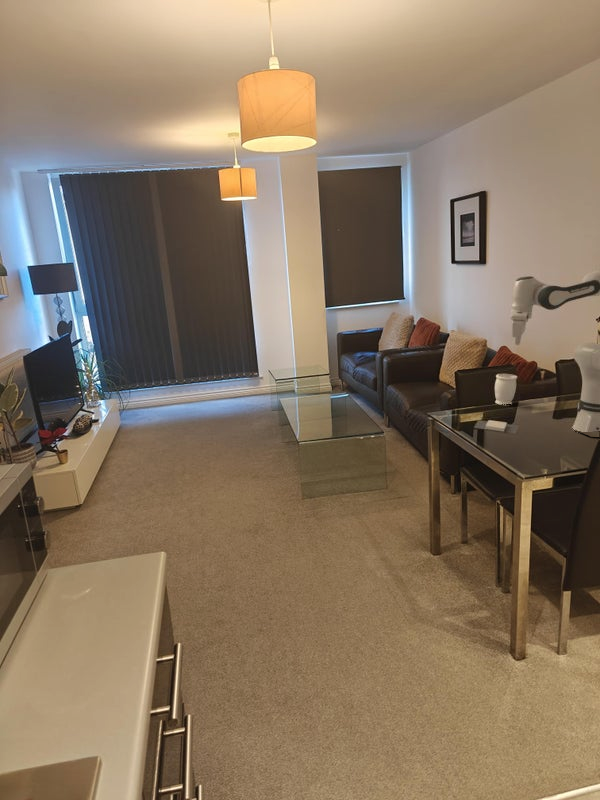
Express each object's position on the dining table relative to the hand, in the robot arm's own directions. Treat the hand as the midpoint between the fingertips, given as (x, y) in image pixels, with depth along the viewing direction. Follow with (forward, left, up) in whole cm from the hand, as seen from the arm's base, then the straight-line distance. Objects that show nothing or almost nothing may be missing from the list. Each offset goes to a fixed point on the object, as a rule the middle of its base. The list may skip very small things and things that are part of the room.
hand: (517, 344), depth 241 cm
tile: (+4, +9, -36) cm, 37 cm away
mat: (+4, +12, -37) cm, 39 cm away
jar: (+6, -30, -37) cm, 48 cm away
